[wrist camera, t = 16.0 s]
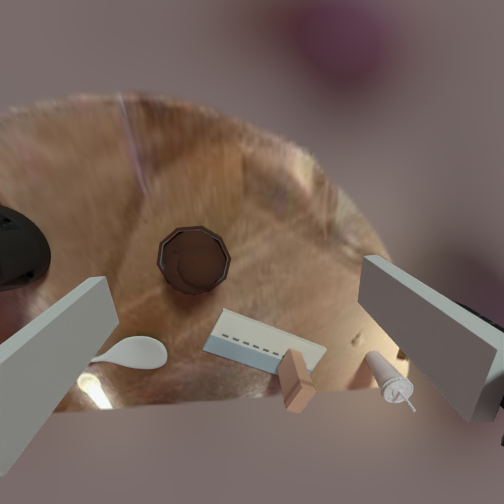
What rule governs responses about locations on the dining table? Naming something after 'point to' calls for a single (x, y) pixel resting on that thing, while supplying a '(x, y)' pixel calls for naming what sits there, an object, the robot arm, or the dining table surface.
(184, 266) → the ice cream bowl
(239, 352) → the board
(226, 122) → the dining table surface
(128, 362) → the spoon
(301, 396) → the small tan carton
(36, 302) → the dining table surface
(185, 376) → the dining table surface
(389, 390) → the smoothie
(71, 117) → the dining table surface
